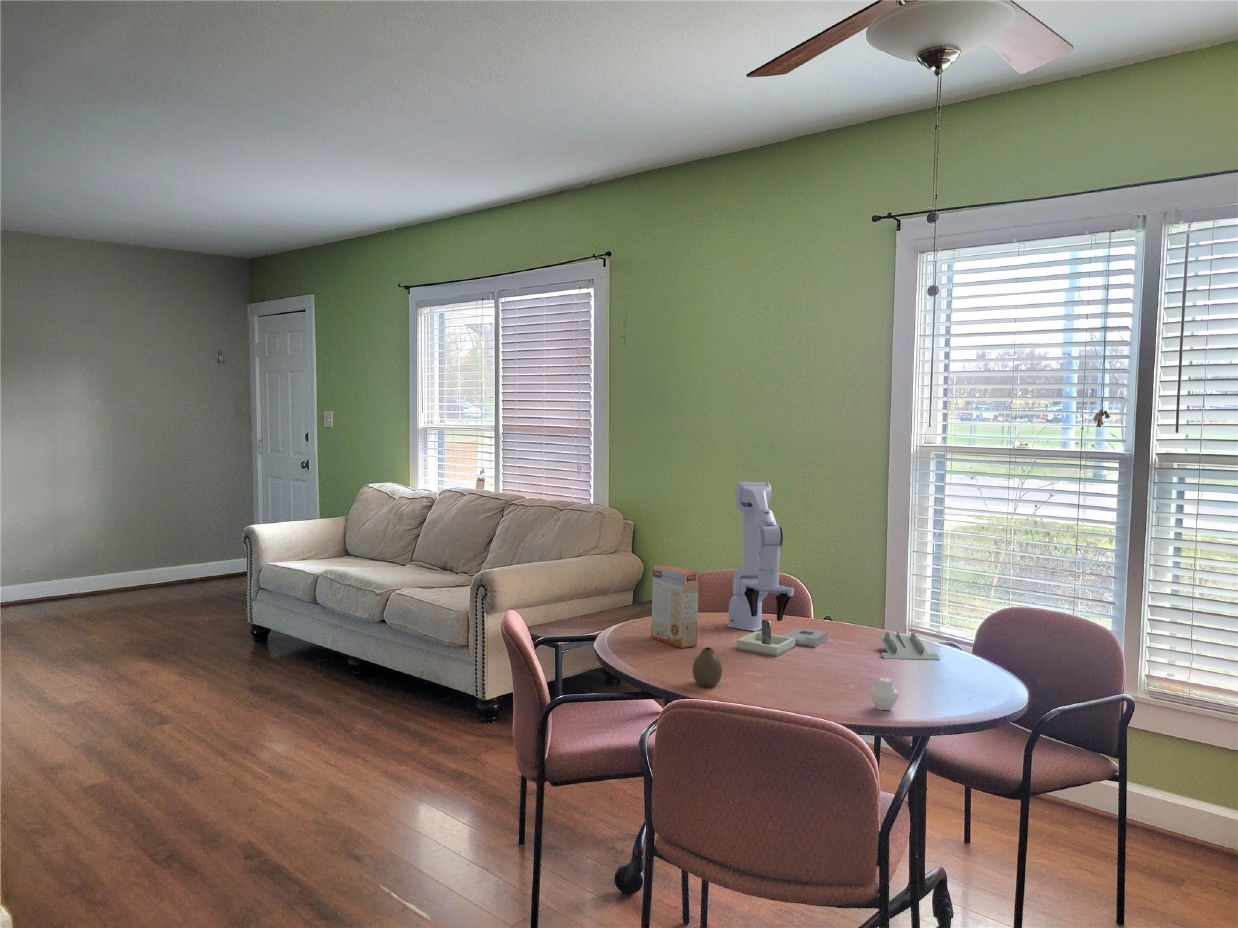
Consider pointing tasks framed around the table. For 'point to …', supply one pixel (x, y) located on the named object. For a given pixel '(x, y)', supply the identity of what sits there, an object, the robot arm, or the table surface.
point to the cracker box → (675, 605)
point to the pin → (766, 632)
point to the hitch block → (807, 636)
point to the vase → (707, 668)
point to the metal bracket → (905, 647)
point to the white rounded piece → (884, 694)
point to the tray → (775, 649)
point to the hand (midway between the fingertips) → (766, 618)
